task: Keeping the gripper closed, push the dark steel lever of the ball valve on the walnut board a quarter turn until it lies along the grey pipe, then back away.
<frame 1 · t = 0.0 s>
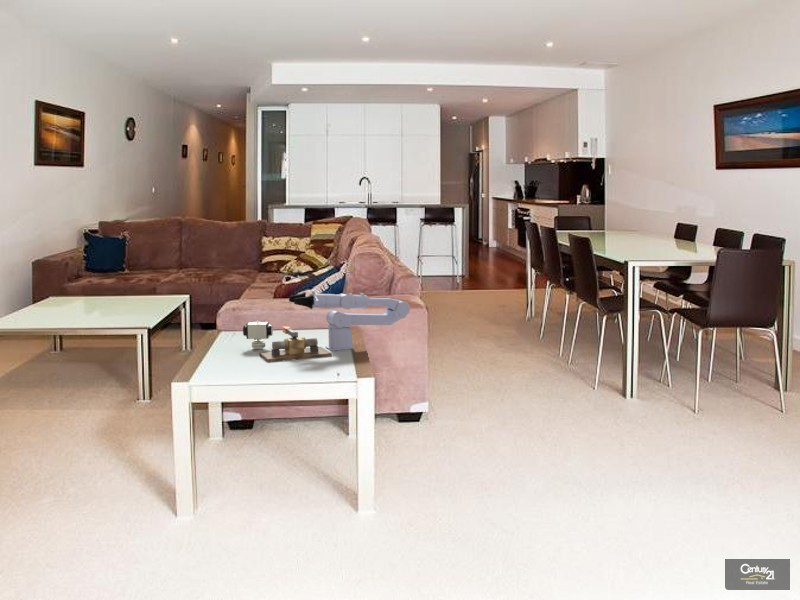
hand: (292, 300, 325), 22 cm above the table, fingers open, 7 cm apart
valve lever: (290, 332, 327), point 9 cm above the table, hinge at 0.0°
ball valve: (295, 355, 322), on the table
pneumatic valve: (258, 349, 336), on the table
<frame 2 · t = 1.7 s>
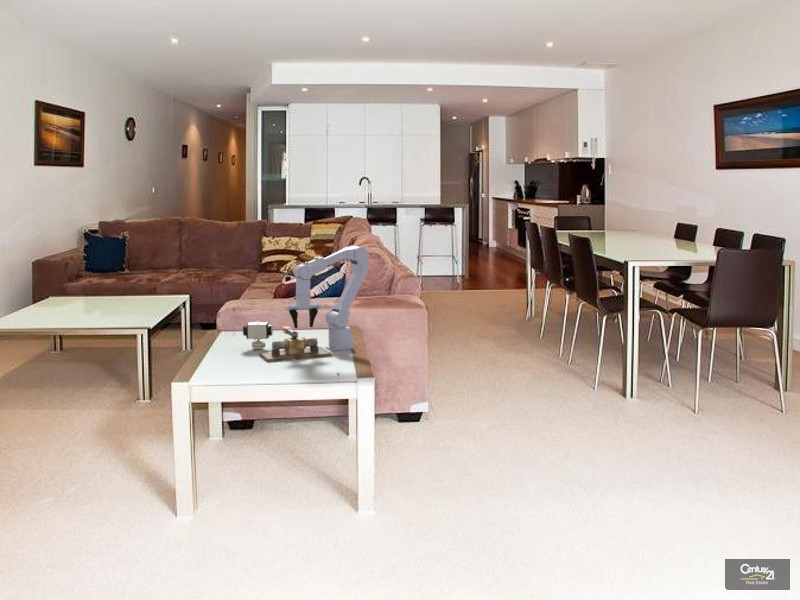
hand: (303, 327, 327), 10 cm above the table, fingers open, 6 cm apart
nothing on the table moved.
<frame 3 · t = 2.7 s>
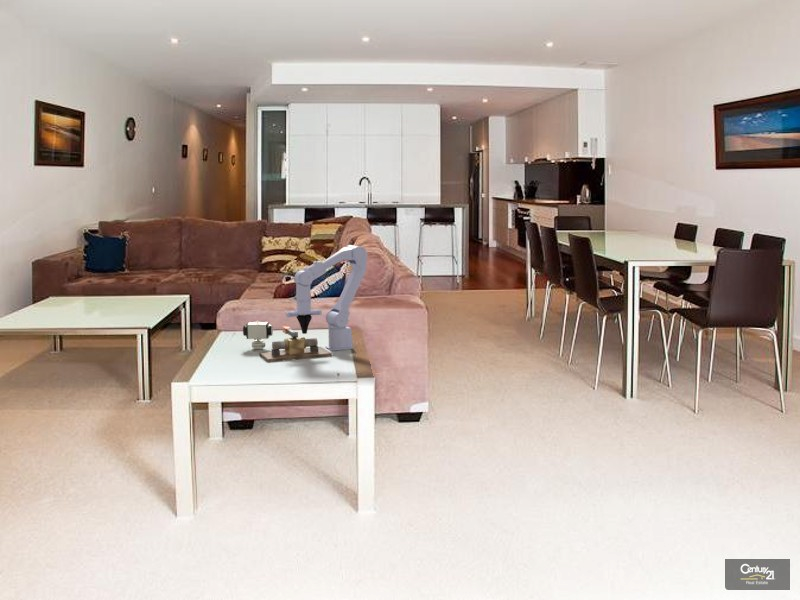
hand: (304, 333, 327), 8 cm above the table, fingers closed
nothing on the table moved.
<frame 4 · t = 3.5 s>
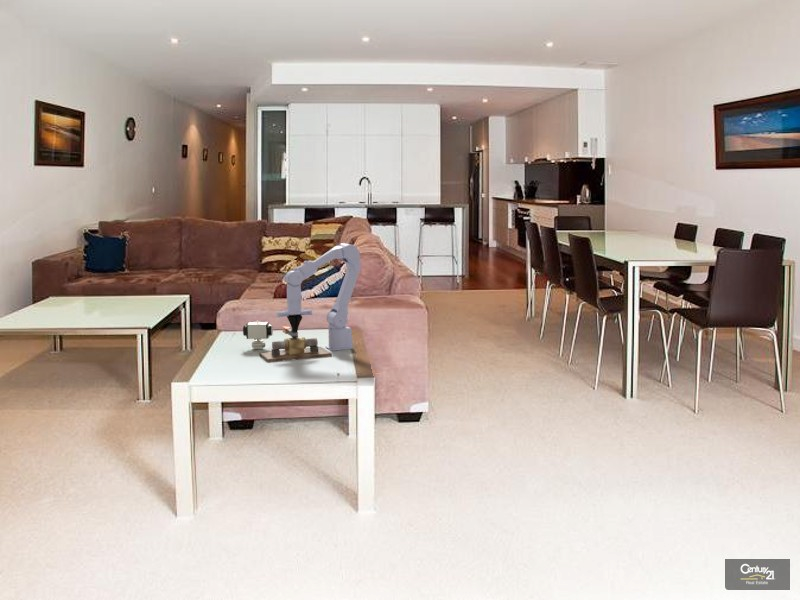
hand: (294, 333, 327), 8 cm above the table, fingers closed
valve lever: (290, 332, 327), point 9 cm above the table, hinge at 0.0°, touching gripper
everything else where it was.
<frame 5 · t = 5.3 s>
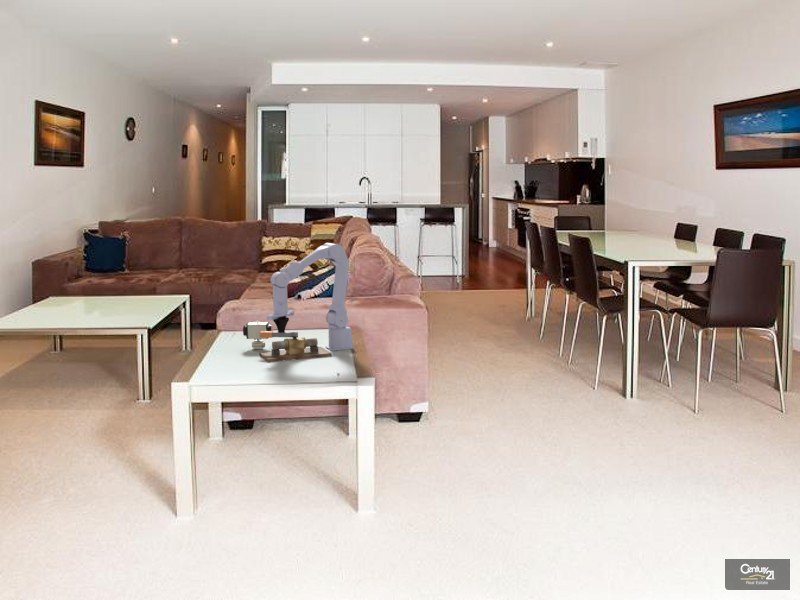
hand: (281, 335, 323), 8 cm above the table, fingers closed, pressing on valve lever
valve lever: (279, 334, 322), point 9 cm above the table, hinge at 60.6°, touching gripper
everything else where it was.
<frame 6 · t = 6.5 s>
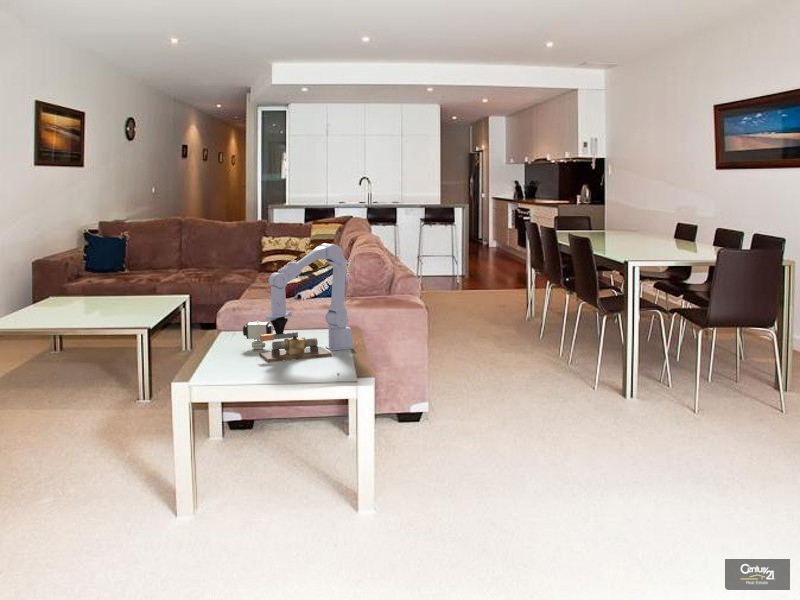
hand: (279, 336, 321), 8 cm above the table, fingers closed
valve lever: (279, 336, 318), point 8 cm above the table, hinge at 93.7°
everything else where it was.
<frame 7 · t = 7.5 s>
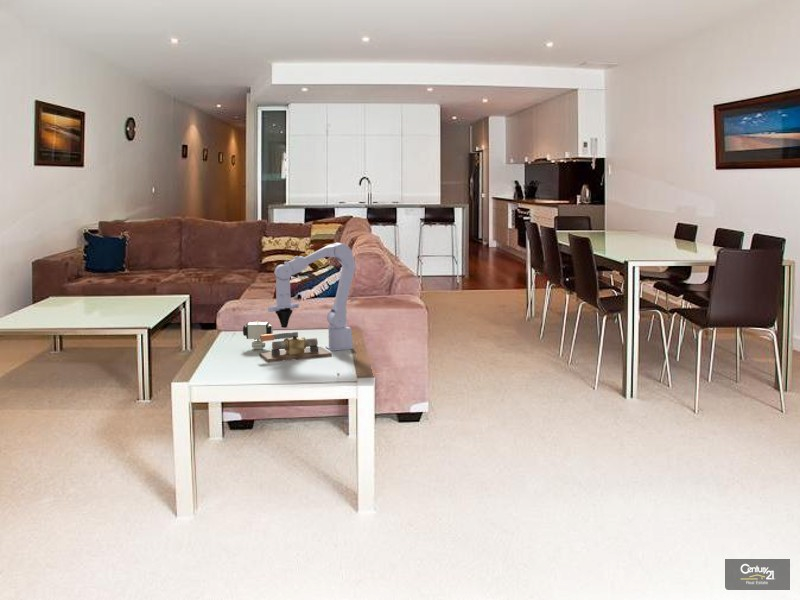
hand: (284, 327, 327), 10 cm above the table, fingers closed
nothing on the table moved.
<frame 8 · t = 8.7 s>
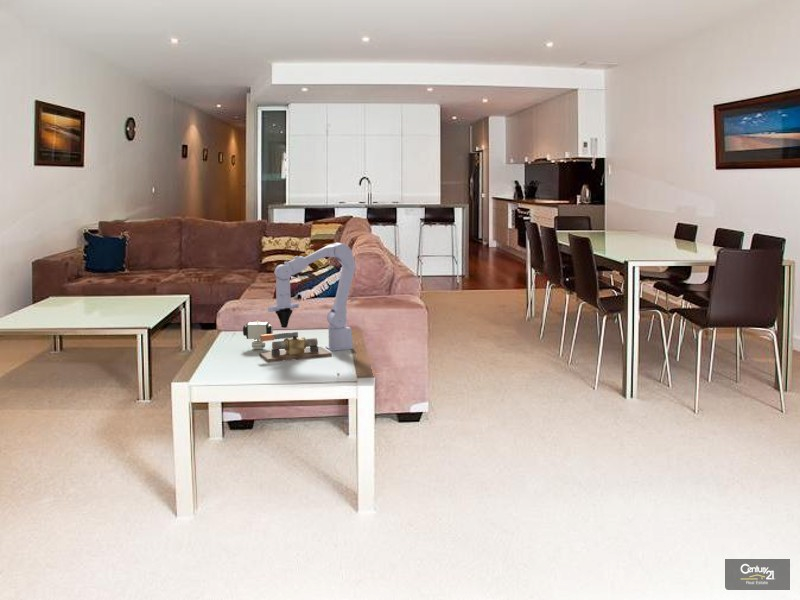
hand: (284, 327, 327), 10 cm above the table, fingers closed
nothing on the table moved.
at the end: valve lever at +94° (first picture: +0°) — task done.
